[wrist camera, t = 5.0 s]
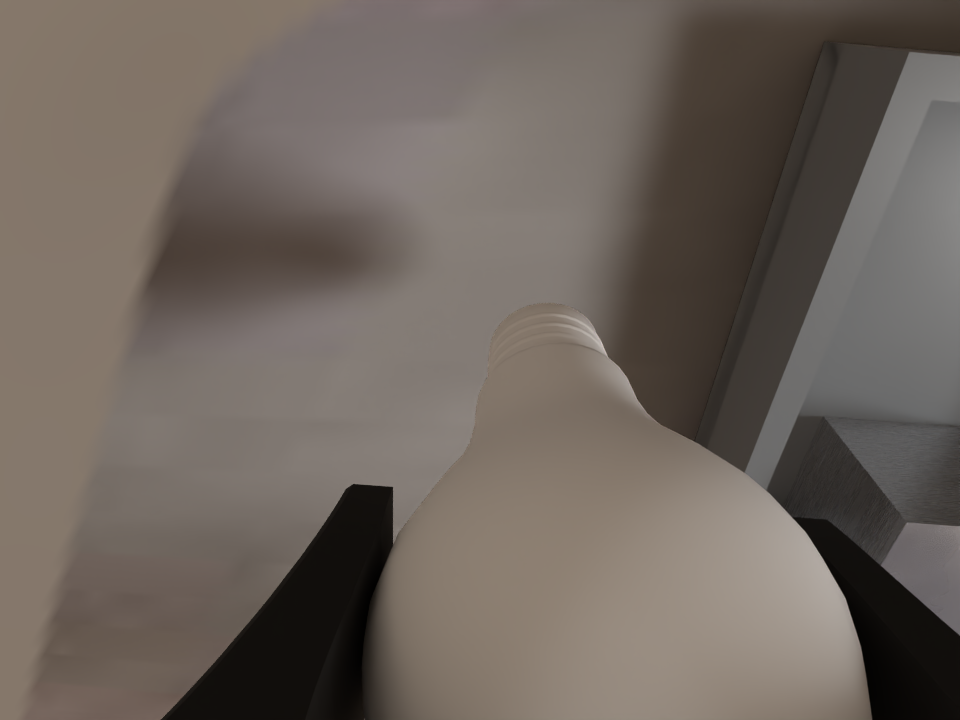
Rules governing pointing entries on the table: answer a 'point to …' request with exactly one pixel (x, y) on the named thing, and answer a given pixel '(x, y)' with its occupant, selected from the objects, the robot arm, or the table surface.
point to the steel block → (891, 500)
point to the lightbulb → (600, 566)
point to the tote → (850, 267)
